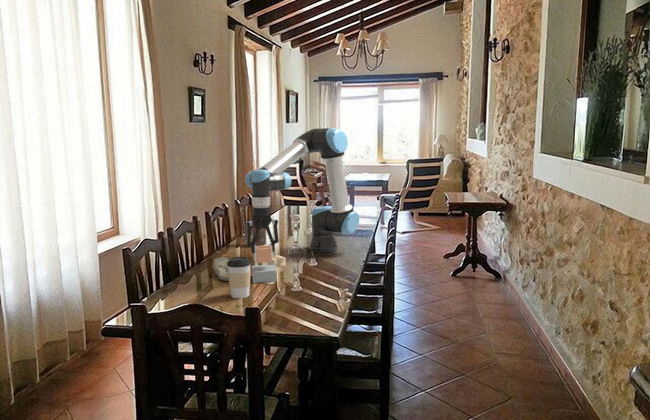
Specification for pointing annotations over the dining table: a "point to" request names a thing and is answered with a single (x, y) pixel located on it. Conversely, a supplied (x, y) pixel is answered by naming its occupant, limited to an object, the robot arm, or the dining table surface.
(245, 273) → the coffee cup
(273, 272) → the slate base
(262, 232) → the candle
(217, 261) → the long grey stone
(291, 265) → the dining table surface
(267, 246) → the terracotta cube
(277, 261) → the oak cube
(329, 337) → the dining table surface
